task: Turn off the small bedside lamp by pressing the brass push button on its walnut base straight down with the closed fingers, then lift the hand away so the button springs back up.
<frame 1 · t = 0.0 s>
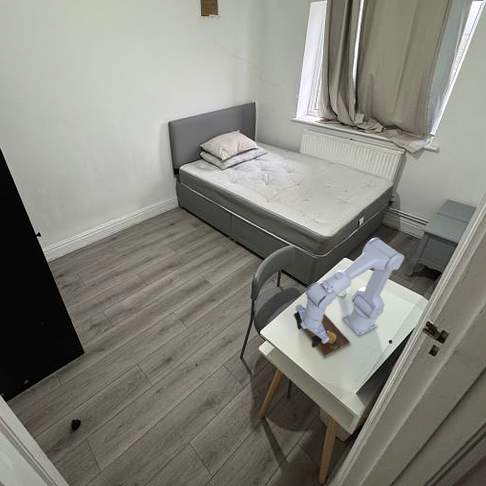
hand: (307, 336, 102), 10 cm above the table, tool pointing down, fingers open, 7 cm apart
lamp: (314, 320, 118), resting on lamp base
perfume bottle: (340, 293, 130), on the table
lamp switch: (330, 337, 108), point 4 cm above the table, slide at 0.1 cm
lamp base: (323, 334, 113), on the table
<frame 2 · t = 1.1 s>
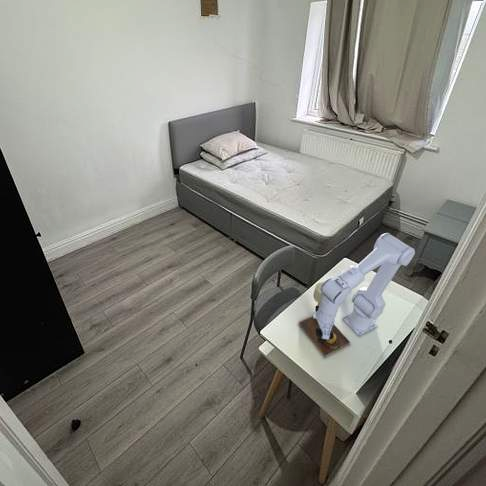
hand: (320, 332, 103), 10 cm above the table, tool pointing down, fingers open, 7 cm apart
nothing on the table moved.
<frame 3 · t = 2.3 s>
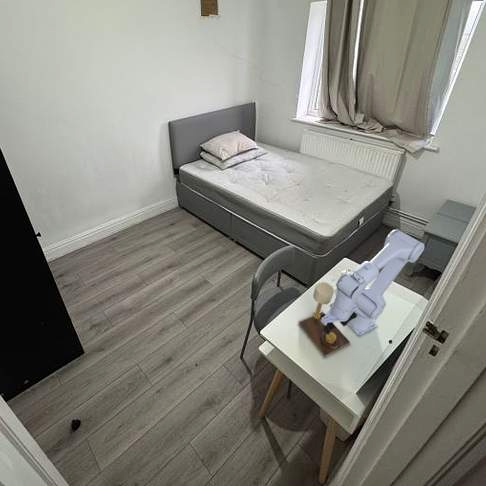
hand: (334, 327, 104), 10 cm above the table, tool pointing down, fingers open, 7 cm apart
nothing on the table moved.
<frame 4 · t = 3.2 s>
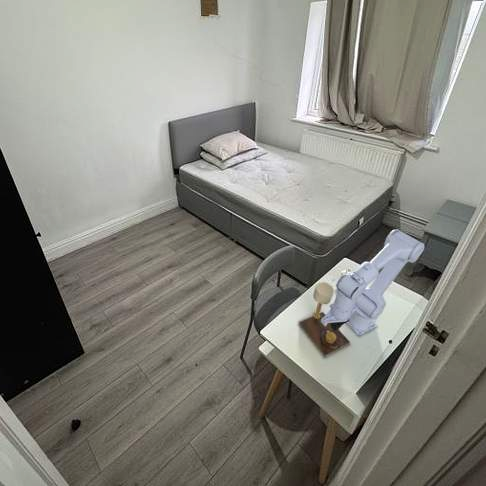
hand: (334, 328, 104), 10 cm above the table, tool pointing down, fingers closed
nothing on the table moved.
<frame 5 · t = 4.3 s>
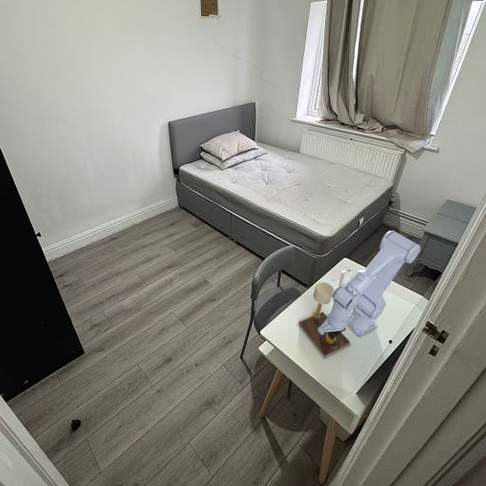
hand: (331, 336, 107), 5 cm above the table, tool pointing down, fingers closed, pressing on lamp switch
lamp switch: (330, 338, 108), point 4 cm above the table, slide at -0.1 cm, touching gripper
everything else where it was.
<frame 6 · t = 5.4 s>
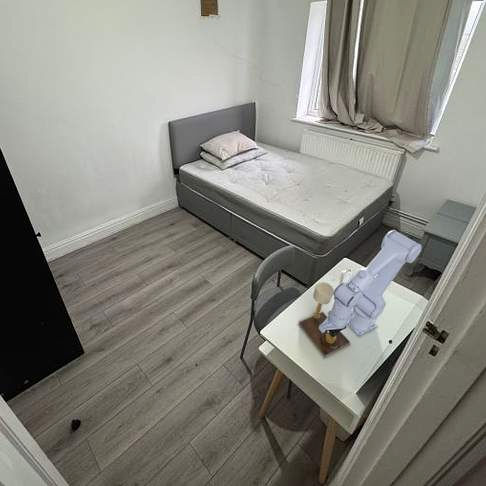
hand: (331, 334, 107), 6 cm above the table, tool pointing down, fingers closed
lamp switch: (330, 337, 108), point 4 cm above the table, slide at 0.1 cm
everything else where it was.
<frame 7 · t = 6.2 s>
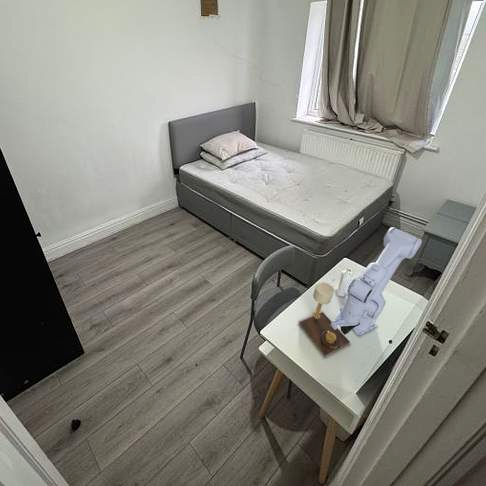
hand: (343, 331, 103), 10 cm above the table, tool pointing down, fingers closed
nothing on the table moved.
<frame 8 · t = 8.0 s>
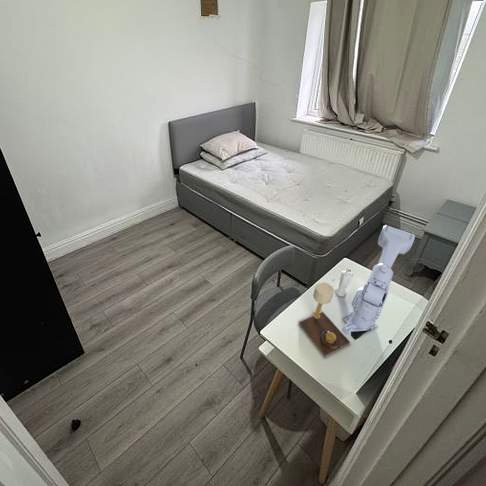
hand: (354, 336, 101), 10 cm above the table, tool pointing down, fingers closed
nothing on the table moved.
at the end: lamp switch pushed in 1.1 cm at the most during the clip, back to where it started at the end; lamp switch slide at 0.1 cm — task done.
